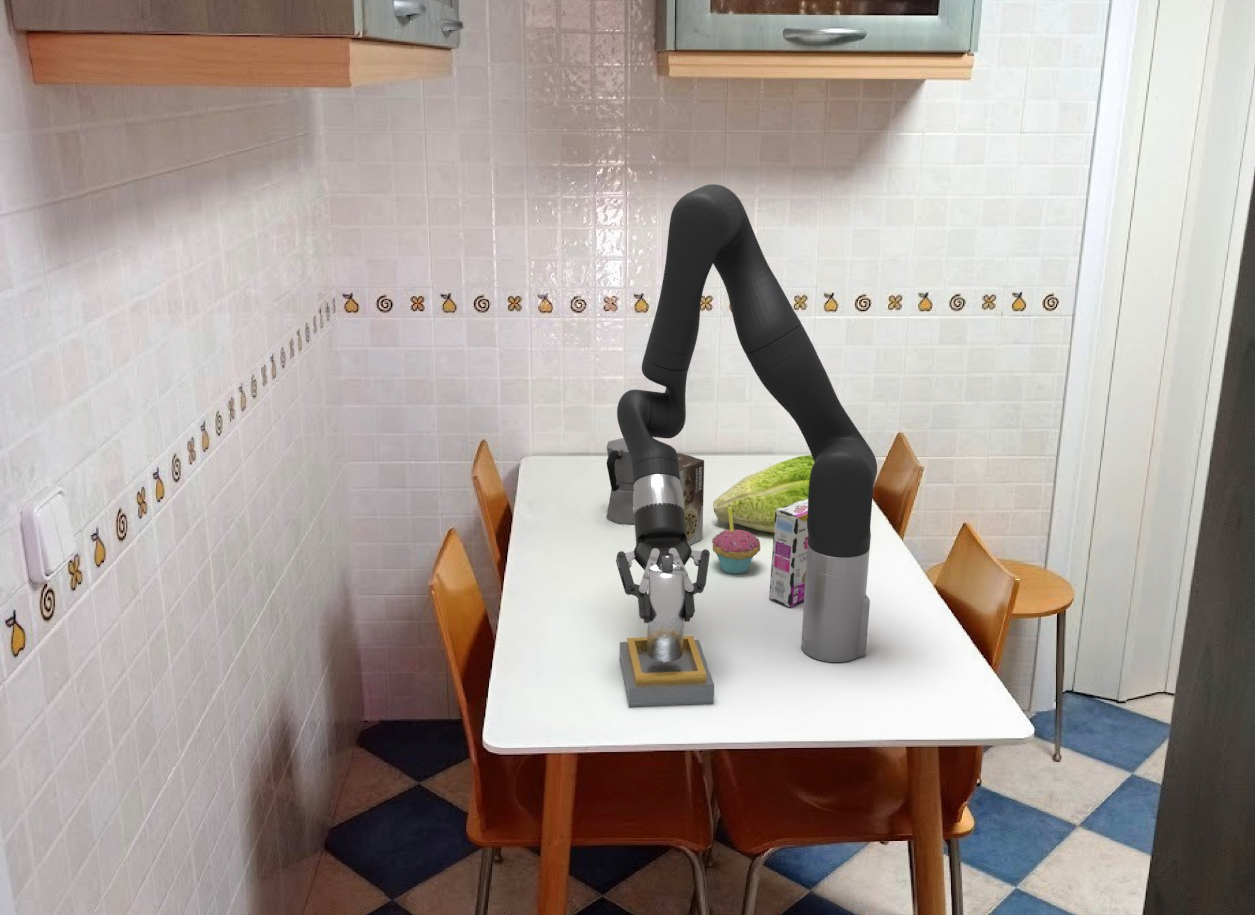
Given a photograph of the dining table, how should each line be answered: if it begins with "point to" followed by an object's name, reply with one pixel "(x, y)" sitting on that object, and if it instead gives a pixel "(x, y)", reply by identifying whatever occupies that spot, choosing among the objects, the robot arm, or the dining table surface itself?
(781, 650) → the dining table surface
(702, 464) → the coffee box
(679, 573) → the spout can
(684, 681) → the grey square tray
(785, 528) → the candy bar box
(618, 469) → the coffeepot
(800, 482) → the lettuce
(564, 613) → the dining table surface
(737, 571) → the cupcake
